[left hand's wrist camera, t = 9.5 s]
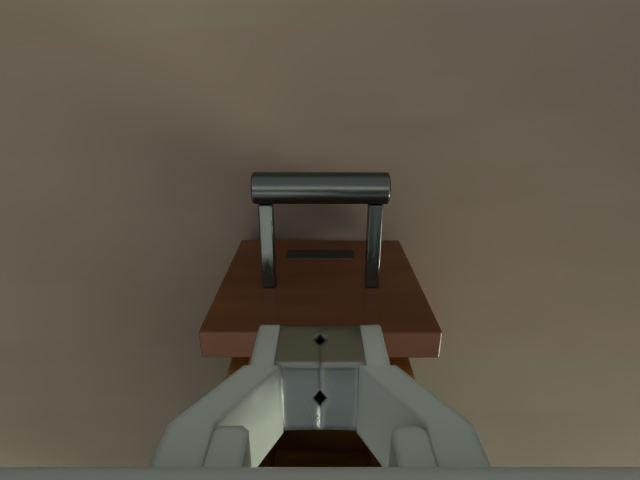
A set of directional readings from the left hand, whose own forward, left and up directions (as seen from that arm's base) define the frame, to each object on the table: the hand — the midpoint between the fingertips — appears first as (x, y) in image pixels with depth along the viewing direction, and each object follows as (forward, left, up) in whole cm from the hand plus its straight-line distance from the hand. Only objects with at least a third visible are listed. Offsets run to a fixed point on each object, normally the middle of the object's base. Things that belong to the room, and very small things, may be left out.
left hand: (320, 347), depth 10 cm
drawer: (-6, +6, -14) cm, 16 cm away
